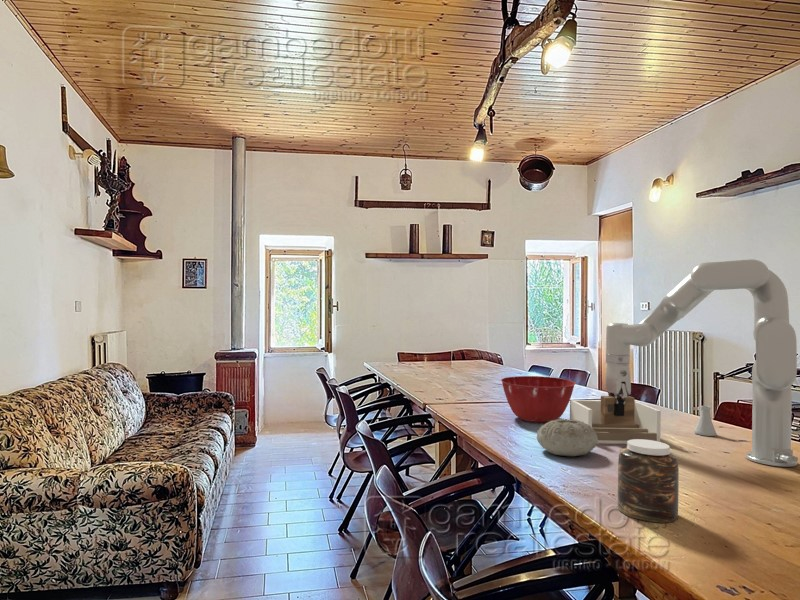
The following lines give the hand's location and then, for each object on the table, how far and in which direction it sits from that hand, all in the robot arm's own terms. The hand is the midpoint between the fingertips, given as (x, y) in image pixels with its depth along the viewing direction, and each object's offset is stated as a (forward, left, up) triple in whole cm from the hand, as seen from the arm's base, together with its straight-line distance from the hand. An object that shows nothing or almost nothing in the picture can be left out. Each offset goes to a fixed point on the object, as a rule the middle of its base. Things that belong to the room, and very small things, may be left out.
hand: (616, 413), depth 180 cm
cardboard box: (0, 0, -3) cm, 3 cm away
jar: (-63, +20, -9) cm, 66 cm away
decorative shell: (-16, +22, -9) cm, 29 cm away
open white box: (+5, -1, -9) cm, 10 cm away
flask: (+11, -37, -9) cm, 40 cm away
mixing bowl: (+32, +18, -9) cm, 38 cm away
